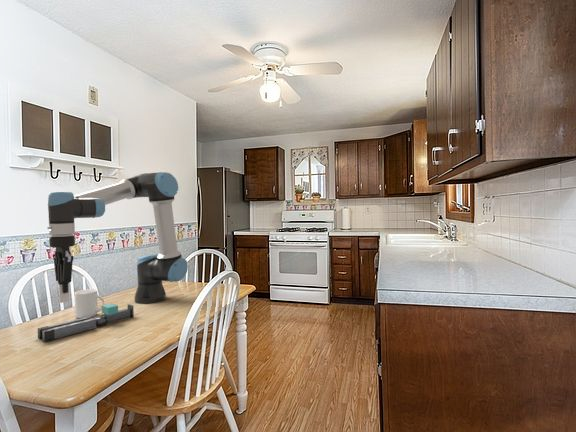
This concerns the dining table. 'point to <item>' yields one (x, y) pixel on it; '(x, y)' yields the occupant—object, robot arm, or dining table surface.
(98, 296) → the mug
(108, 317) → the tongs body
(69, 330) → the tongs jaw
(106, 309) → the tab
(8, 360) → the dining table surface
